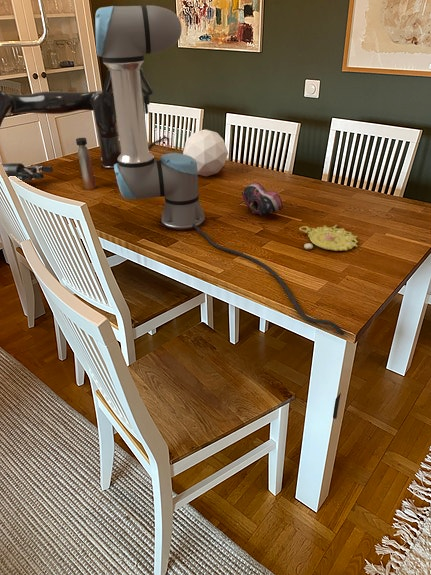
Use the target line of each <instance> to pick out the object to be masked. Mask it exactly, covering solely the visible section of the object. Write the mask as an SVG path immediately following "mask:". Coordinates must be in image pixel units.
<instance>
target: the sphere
mask: <svg viewBox="0 0 431 575" xmlns="http://www.w3.org/2000/svg"><path fill="white" fill-rule="evenodd" d="M182 154H184V155H188V156H191V157H192V158H194V159H195V161H196V163H197V171H198V174H197V175H199V176H202V177H209V176H212V175H216V174H218V173H219V172H220V171H221V170H222V168H223V167H224V166H225V164H226V160H227V158H228V154H229V151H228V148H227V146H226V143H225V140H224V139H223V137H222V136H221V135H220V134H219V133H218V132H216V131H213V130H210V129H206V128H205V129H202V130H199V131H196V132H192V134H191V135H190V136H189V137H188V138H187V139H186V141H185V143H184V148H183V152H182Z"/></svg>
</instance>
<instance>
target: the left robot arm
mask: <svg viewBox="0 0 431 575" xmlns="http://www.w3.org/2000/svg"><path fill="white" fill-rule="evenodd" d="M102 91H103V90H95V91H87V92H86V91H85V92H74V91H55V90H54V91H53V90H51V91H48V90H47V91H46V90H45V91H39V92H34V93H33V92H32V93H29V94H11V93H7V92H6V91H5V90H1V89H0V127H2V124H3V121H4V119H5V117H6V116H10V115H17V114H38V115H39V114H40V115H64V114H70V113H74V112H78V111H92V112H93V115H94V121H95V127H96V134H97V139H98V146H99V151H100V152H99V153H100V160H101V163H102V164H101V165H102V167H103V168H105V169H114V165H115V164H116V163H118V160H117V158H118V157H119V156H120V154H121V146H120V139H119V132H118V125H117V118H116V113H115V114H114V115H112V111H111V106H109V105H108V101H107V97H106V96H103V95H102ZM114 108H115V106H114ZM167 137H168V136H164V137H161V138H160V139H157V140H155V141H153V142H151V143H150V144H148V150H150V148H151V147H152V146H153V145H155V144H157V143H159V142H161V141H163V140H165V139H166V140H169V139H170V138H169V137H168V138H167ZM1 164H2V165H3V168H4V170H5V172H6V174H7V175H8V177H9V176H16V177H17V178H19V179H20V180H22V181H21V182H26V181H27V182H31V181H32V180H36V179H37V180H39V179H40V180H41V179H42V180H43V179H44V178H45V177H44V176H45V175H44V173H52V172H54V171H53V167H52V166H45V164H30V165H29V166H25V165H24V164H23V163H19V162H17V163H16V162H15V163H14V162H10V163H9V162H7V163H1Z"/></svg>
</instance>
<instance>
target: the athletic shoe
mask: <svg viewBox="0 0 431 575" xmlns="http://www.w3.org/2000/svg"><path fill="white" fill-rule="evenodd" d="M241 197H242V199H243V201H238V203H239V204H241V205H245V206H246V207H247V208H248V210H249V211H250V210H251V213H252V214H255V215H260V217H266V216H267V215H270V214H274V213H275V212H279V211H282V210H283V209H284V205H283V201H282V198H281V196H280V195H279V194H278V192H277V191H274V190H269V191H267V190H266V189H265V187H264V186H263V185H262V184H261V183H258V182H251V183H249V184H247V186H246V187H245V188H244V190H243V191H242V192H241Z"/></svg>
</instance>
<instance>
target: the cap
mask: <svg viewBox="0 0 431 575" xmlns="http://www.w3.org/2000/svg"><path fill="white" fill-rule="evenodd" d="M75 142H76V143H75V144H76V145H77V146H78V147H79V146H81V145H86V146H87V145H88V141H87V138H86V137H77V138H76V139H75Z"/></svg>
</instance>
